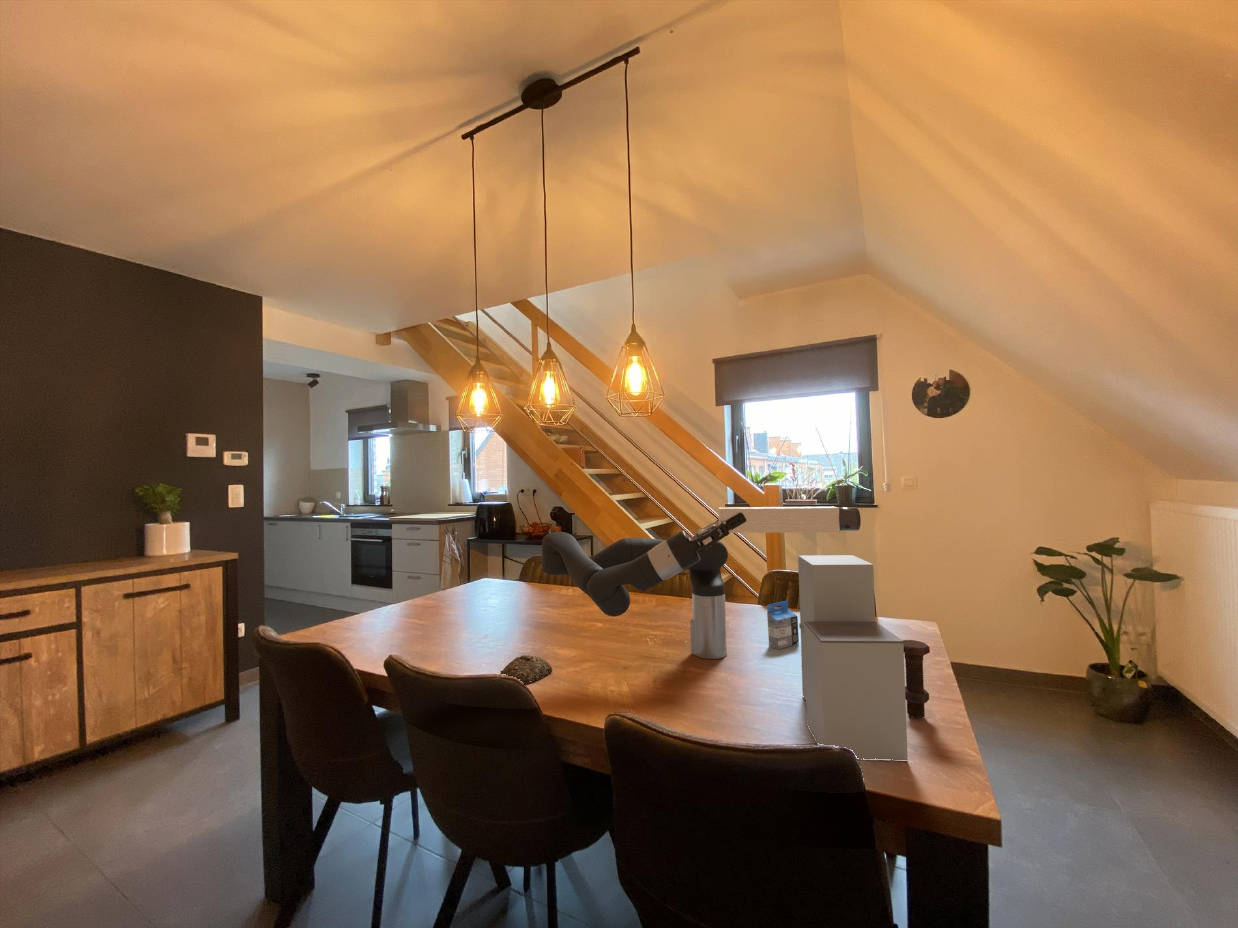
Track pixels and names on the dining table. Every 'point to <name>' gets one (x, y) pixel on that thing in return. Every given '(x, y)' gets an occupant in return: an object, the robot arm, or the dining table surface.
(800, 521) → the knob shaft
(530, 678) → the dark brown domed lump
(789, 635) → the label tape box
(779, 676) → the dining table surface
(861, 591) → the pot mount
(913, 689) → the bolt
